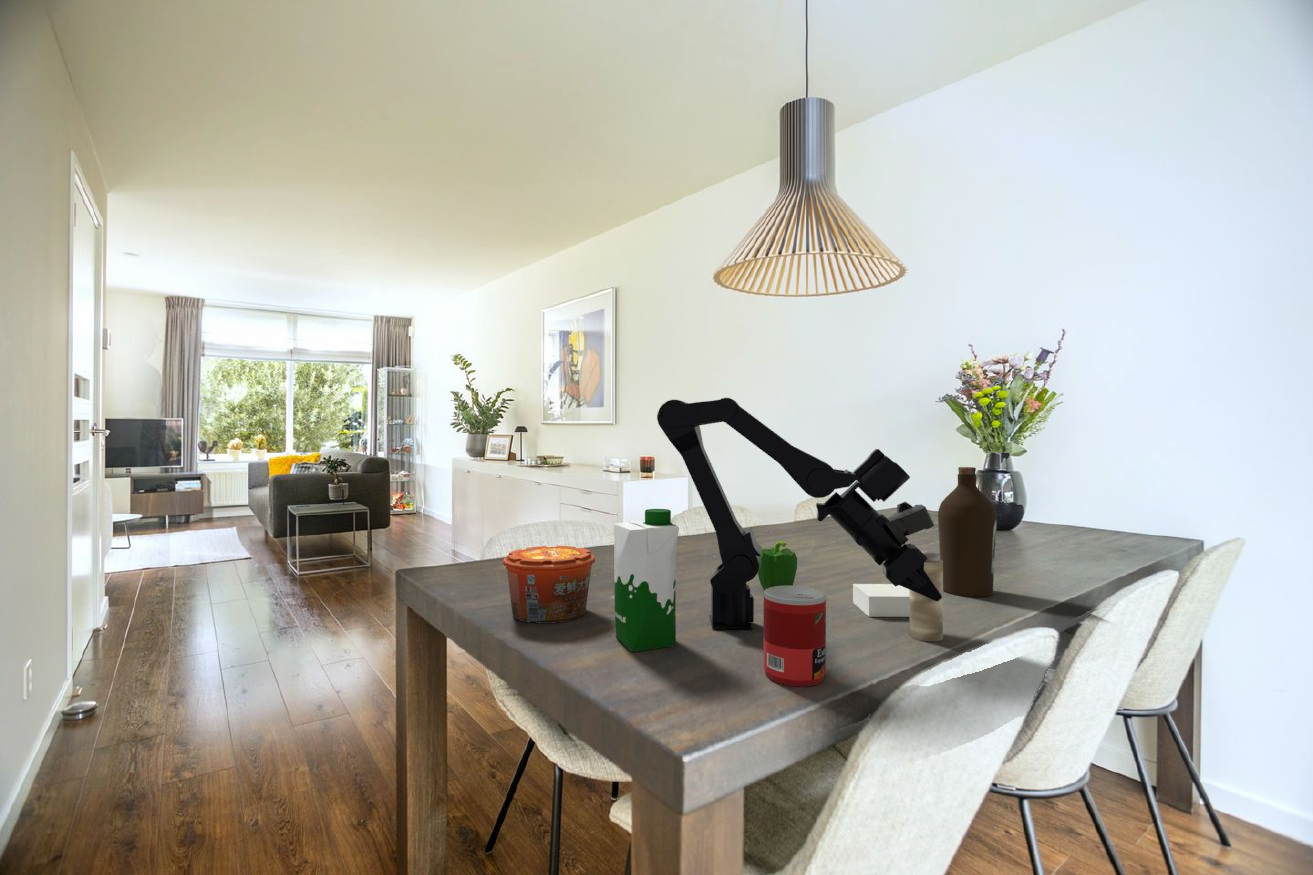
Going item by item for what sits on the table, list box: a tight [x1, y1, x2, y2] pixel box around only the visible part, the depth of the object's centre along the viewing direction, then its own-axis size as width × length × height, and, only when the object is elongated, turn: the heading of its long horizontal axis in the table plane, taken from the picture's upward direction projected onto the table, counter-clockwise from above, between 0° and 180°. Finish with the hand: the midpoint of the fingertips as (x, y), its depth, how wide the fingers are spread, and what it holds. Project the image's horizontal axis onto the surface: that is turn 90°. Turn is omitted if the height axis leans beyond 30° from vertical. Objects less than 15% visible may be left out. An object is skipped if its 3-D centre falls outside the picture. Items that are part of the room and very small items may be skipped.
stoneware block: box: [852, 583, 910, 618], centre depth 112 cm, size 9×9×4 cm
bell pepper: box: [757, 540, 798, 590], centre depth 128 cm, size 8×8×10 cm
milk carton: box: [613, 508, 680, 653], centre depth 95 cm, size 9×9×20 cm
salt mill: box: [909, 550, 944, 642], centre depth 97 cm, size 5×5×13 cm
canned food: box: [763, 585, 827, 688], centre depth 82 cm, size 8×8×11 cm
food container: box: [502, 545, 596, 624], centre depth 110 cm, size 16×16×11 cm
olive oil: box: [937, 466, 998, 598], centre depth 125 cm, size 11×11×25 cm
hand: (935, 594), depth 97 cm, fingers closed on salt mill, 5 cm apart
